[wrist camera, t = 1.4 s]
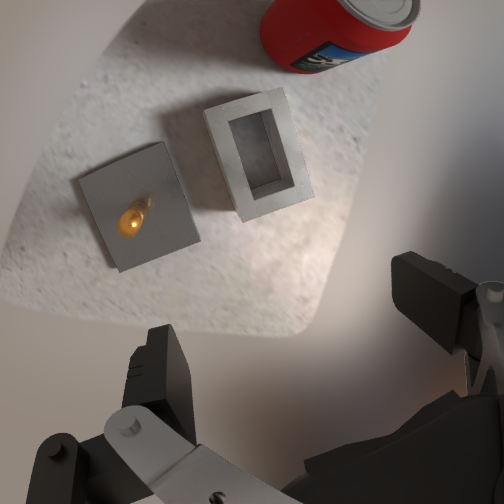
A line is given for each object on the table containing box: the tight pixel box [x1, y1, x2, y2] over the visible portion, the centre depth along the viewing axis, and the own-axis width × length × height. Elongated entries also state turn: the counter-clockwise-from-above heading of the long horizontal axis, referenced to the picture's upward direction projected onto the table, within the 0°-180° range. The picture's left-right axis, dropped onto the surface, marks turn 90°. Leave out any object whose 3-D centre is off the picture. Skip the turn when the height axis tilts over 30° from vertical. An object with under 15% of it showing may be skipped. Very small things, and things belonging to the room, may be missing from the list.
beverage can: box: [260, 0, 421, 74], centre depth 16 cm, size 7×7×12 cm
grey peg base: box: [78, 142, 201, 273], centre depth 21 cm, size 8×7×5 cm
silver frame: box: [202, 87, 315, 223], centre depth 22 cm, size 8×5×4 cm
